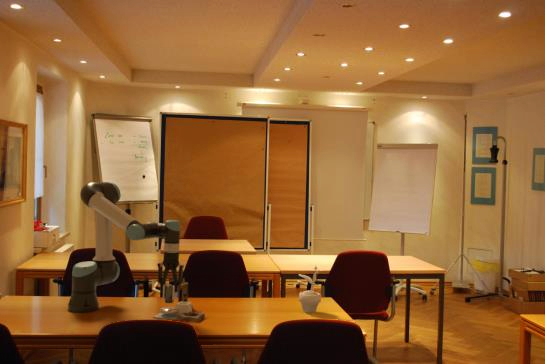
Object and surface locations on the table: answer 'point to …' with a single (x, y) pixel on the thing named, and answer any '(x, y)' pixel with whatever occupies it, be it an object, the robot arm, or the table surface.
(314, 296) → the potted plant
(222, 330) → the table surface
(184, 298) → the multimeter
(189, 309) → the cup
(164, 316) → the base
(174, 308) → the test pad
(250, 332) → the table surface
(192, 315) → the brown square tray
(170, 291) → the cell
